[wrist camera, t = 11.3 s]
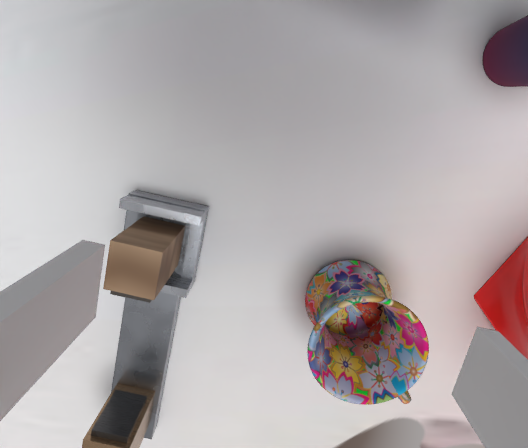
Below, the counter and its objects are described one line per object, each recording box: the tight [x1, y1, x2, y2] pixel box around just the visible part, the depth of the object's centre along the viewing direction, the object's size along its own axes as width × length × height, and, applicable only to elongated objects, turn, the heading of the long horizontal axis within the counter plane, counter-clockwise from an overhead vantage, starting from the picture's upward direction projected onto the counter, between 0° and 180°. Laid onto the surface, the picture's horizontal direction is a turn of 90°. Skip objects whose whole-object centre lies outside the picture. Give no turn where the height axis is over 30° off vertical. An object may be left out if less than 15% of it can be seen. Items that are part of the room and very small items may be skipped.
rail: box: [82, 190, 209, 448], centre depth 39 cm, size 26×7×10 cm, turn 168°
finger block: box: [103, 216, 185, 303], centre depth 36 cm, size 5×4×8 cm
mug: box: [305, 260, 429, 404], centre depth 38 cm, size 12×9×11 cm
